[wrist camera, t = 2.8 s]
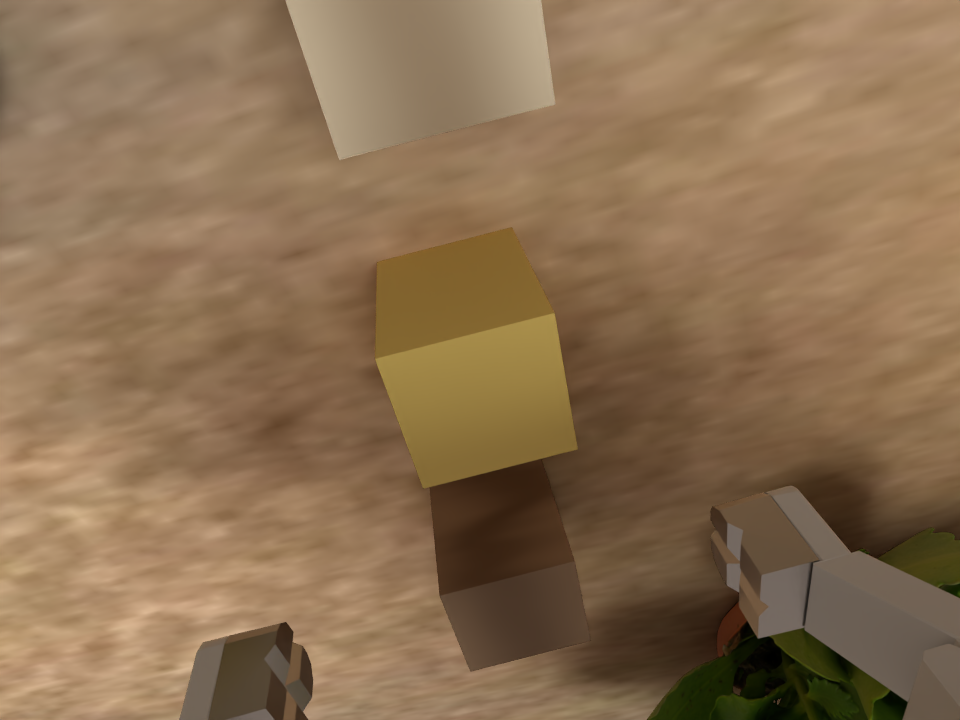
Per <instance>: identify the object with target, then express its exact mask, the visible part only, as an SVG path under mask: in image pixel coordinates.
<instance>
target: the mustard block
mask: <svg viewBox="0 0 960 720" xmlns="http://www.w3.org/2000/svg"><path fill="white" fill-rule="evenodd" d="M375 361H376V363H377V366H378V369H379V371H380V374H381V377H382V379H383V382H384V385H385V388H386V390H387V393H388V396H389V398H390V401H391V404H392V406H393V409H394V412H395V414H396V417H397V420H398V423H399V425H400V428H401V431H402V433H403V436H404V439H405V441H406V444H407V447H408V449H409V452H410V455H411V458H412V460H413V463H414V466H415V468H416V471H417V474H418V476H419V479H420V482H421V484H422V487H423V489H424V488H428V487H432V486H436V485H440V484H444V483H448V482H452V481H456V480H460V479H464V478H468V477H471V476H475V475H479V474H483V473H487V472H491V471H495V470H499V469H503V468H507V467H511V466H515V465H519V464H522V463H526V462H530V461H534V460H538V459H542V458H546V457H550V456H554V455H558V454H562V453H566V452H570V451H573V450H577V449H578V448H577V442H576V436H575V430H574V424H573V418H572V412H571V406H570V401H569V395H568V389H567V383H566V377H565V371H564V365H563V359H562V354H561V348H560V342H559V336H558V330H557V324H556V318H555V313H554V311H553V309H552V307H551V305H550V303H549V301H548V299H547V297H546V295H545V293H544V291H543V289H542V287H541V285H540V283H539V281H538V279H537V277H536V275H535V273H534V271H533V269H532V267H531V265H530V263H529V261H528V259H527V257H526V255H525V253H524V251H523V249H522V247H521V245H520V243H519V241H518V239H517V237H516V235H515V233H514V231H513V229H512V227H511V228H507V229H503V230H499V231H495V232H492V233H488V234H484V235H480V236H476V237H472V238H468V239H464V240H460V241H457V242H453V243H449V244H445V245H441V246H437V247H433V248H429V249H425V250H421V251H418V252H414V253H410V254H406V255H402V256H398V257H394V258H390V259H386V260H383V261H379V262H377V285H376V331H375Z"/></svg>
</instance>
